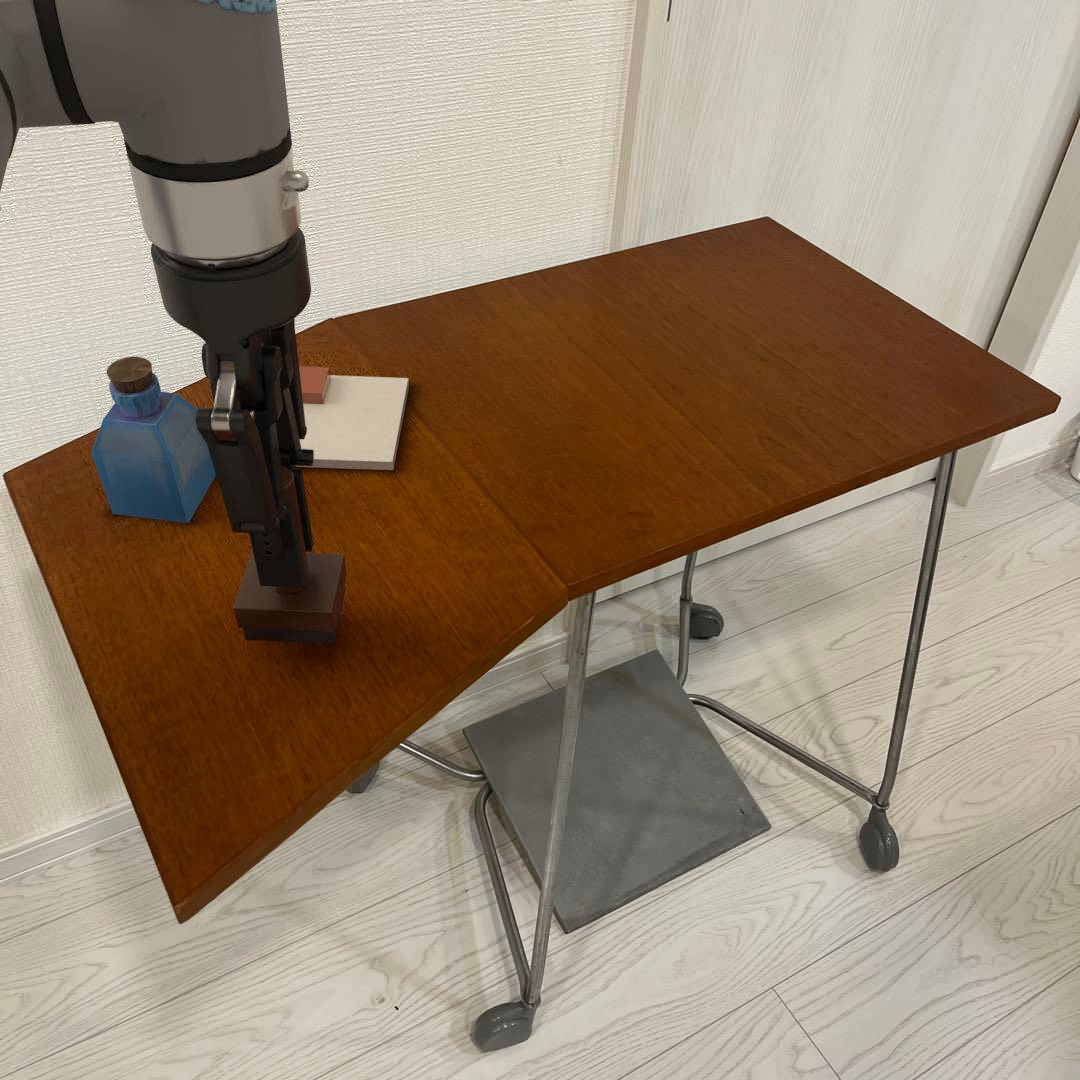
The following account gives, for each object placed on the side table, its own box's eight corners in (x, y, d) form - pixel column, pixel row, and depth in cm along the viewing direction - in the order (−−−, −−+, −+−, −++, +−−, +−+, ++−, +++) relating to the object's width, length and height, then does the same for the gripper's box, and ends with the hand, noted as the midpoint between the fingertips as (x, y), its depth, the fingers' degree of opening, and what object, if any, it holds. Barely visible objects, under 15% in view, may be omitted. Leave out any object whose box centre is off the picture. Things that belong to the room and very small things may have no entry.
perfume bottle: (145, 464, 84) (107, 341, 76) (217, 472, 84) (186, 349, 75) (113, 513, 80) (68, 389, 71) (188, 523, 79) (152, 398, 71)
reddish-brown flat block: (278, 402, 89) (276, 391, 88) (287, 376, 92) (285, 365, 91) (323, 404, 89) (321, 393, 88) (331, 378, 92) (329, 367, 91)
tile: (249, 465, 84) (247, 456, 84) (278, 381, 93) (277, 372, 92) (393, 470, 85) (392, 461, 84) (409, 386, 93) (408, 377, 93)
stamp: (241, 642, 68) (207, 505, 59) (258, 584, 72) (229, 447, 63) (336, 646, 68) (316, 509, 60) (348, 588, 72) (331, 452, 63)
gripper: (269, 321, 45) (324, 659, 61) (328, 169, 56) (361, 488, 72) (99, 312, 45) (199, 653, 61) (192, 162, 56) (256, 484, 72)
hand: (287, 563), depth 67 cm, fingers closed on stamp, 3 cm apart
